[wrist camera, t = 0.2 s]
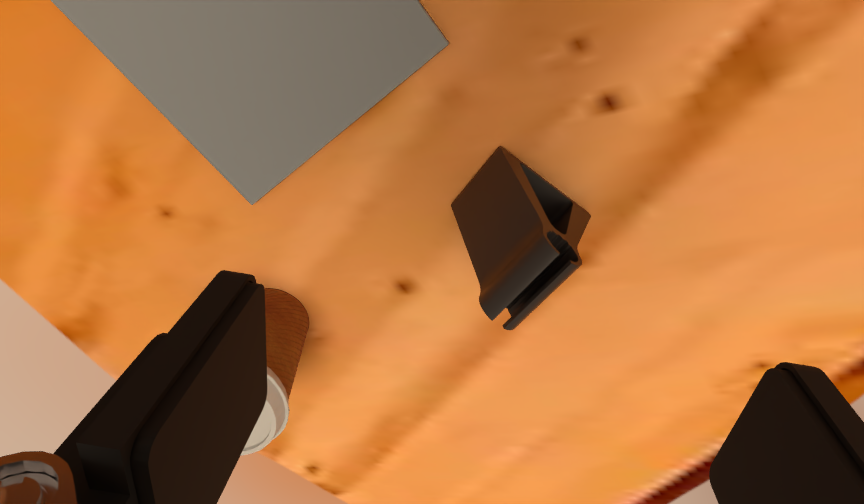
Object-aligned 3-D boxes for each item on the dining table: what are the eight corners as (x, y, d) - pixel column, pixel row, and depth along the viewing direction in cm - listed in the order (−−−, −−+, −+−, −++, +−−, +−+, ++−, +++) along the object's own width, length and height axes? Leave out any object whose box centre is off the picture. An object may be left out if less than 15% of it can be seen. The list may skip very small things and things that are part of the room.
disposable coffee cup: (286, 256, 46) (227, 345, 36) (346, 338, 50) (308, 440, 39) (203, 295, 49) (125, 388, 38) (265, 369, 53) (209, 473, 42)
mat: (203, -298, 29) (198, -302, 29) (449, 43, 37) (448, 44, 36) (18, -39, 37) (12, -39, 36) (254, 202, 44) (251, 205, 43)
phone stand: (590, 213, 42) (624, 301, 31) (537, 265, 44) (553, 362, 34) (500, 144, 40) (504, 212, 29) (450, 202, 42) (438, 285, 32)
